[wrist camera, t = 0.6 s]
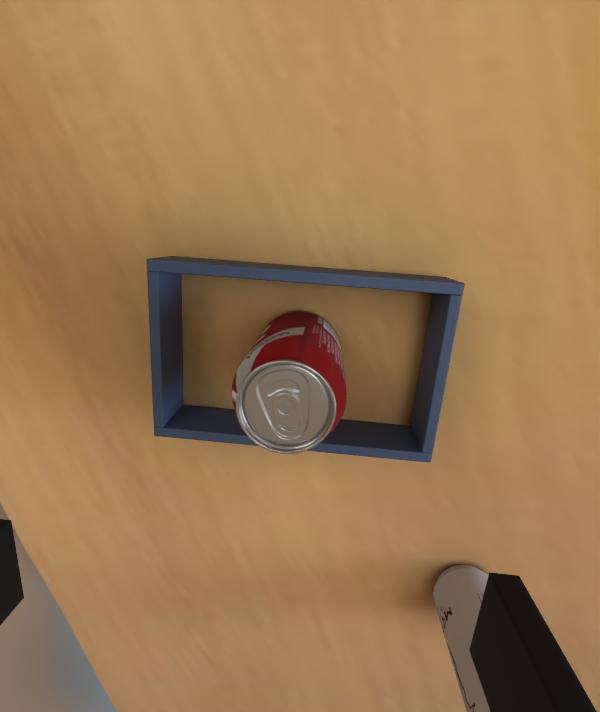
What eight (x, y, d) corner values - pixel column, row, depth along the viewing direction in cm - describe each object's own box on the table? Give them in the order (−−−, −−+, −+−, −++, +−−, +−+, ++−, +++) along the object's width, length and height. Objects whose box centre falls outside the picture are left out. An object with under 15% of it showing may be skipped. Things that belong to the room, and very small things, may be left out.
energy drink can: (420, 572, 38) (476, 771, 24) (480, 551, 37) (576, 747, 23) (444, 616, 40) (510, 828, 25) (502, 597, 39) (606, 809, 24)
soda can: (334, 303, 32) (338, 340, 20) (346, 381, 33) (355, 456, 22) (252, 316, 32) (211, 359, 21) (268, 392, 34) (238, 470, 23)
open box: (171, 256, 31) (146, 258, 27) (445, 276, 30) (465, 283, 26) (175, 412, 35) (153, 436, 31) (417, 434, 34) (430, 463, 30)
